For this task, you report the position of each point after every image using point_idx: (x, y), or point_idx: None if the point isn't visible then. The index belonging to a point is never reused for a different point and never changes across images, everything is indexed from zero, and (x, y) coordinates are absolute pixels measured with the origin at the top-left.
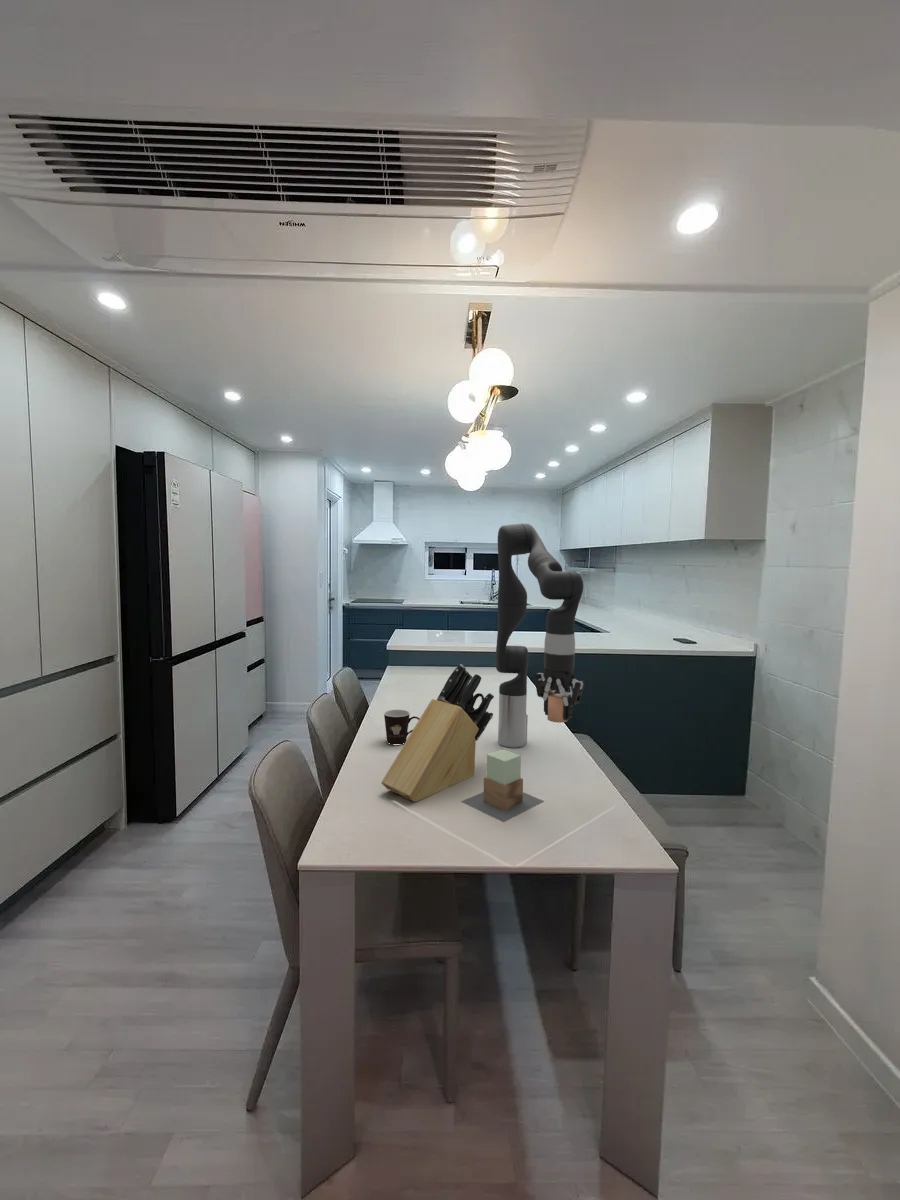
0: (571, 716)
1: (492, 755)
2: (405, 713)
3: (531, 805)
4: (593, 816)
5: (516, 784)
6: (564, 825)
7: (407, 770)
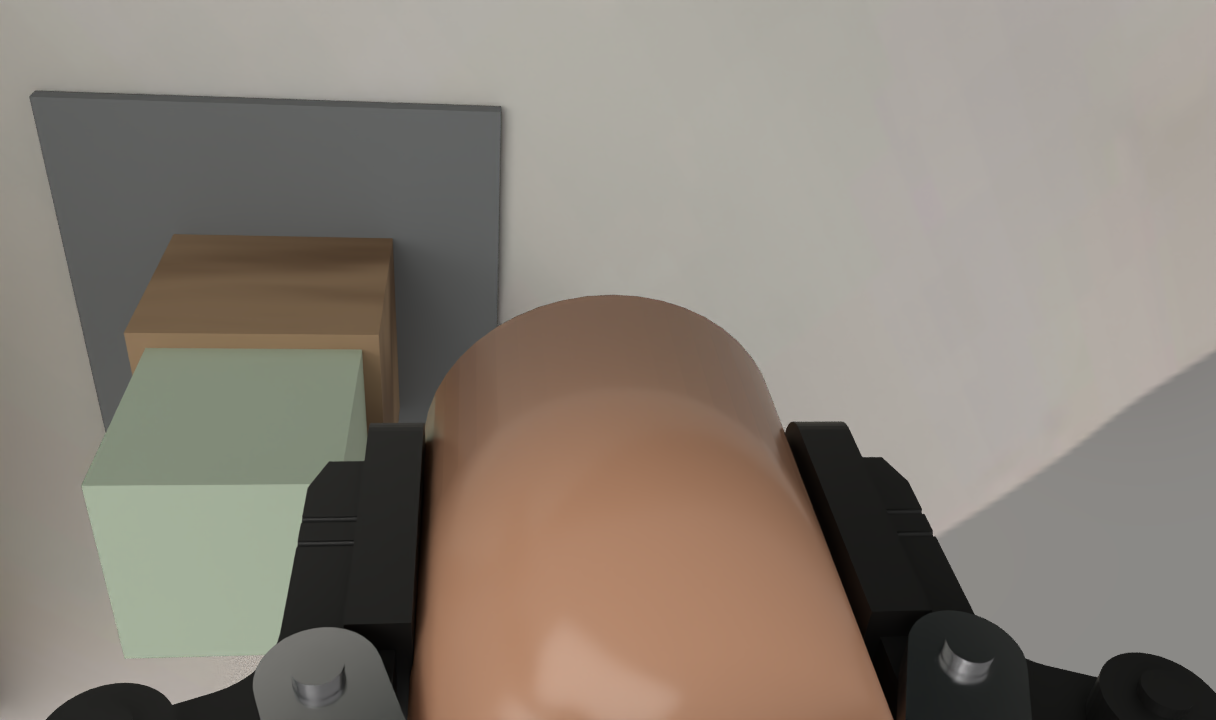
0: (896, 486)
1: (171, 641)
2: None
3: (475, 237)
4: (888, 23)
5: (383, 393)
6: (775, 270)
7: None
